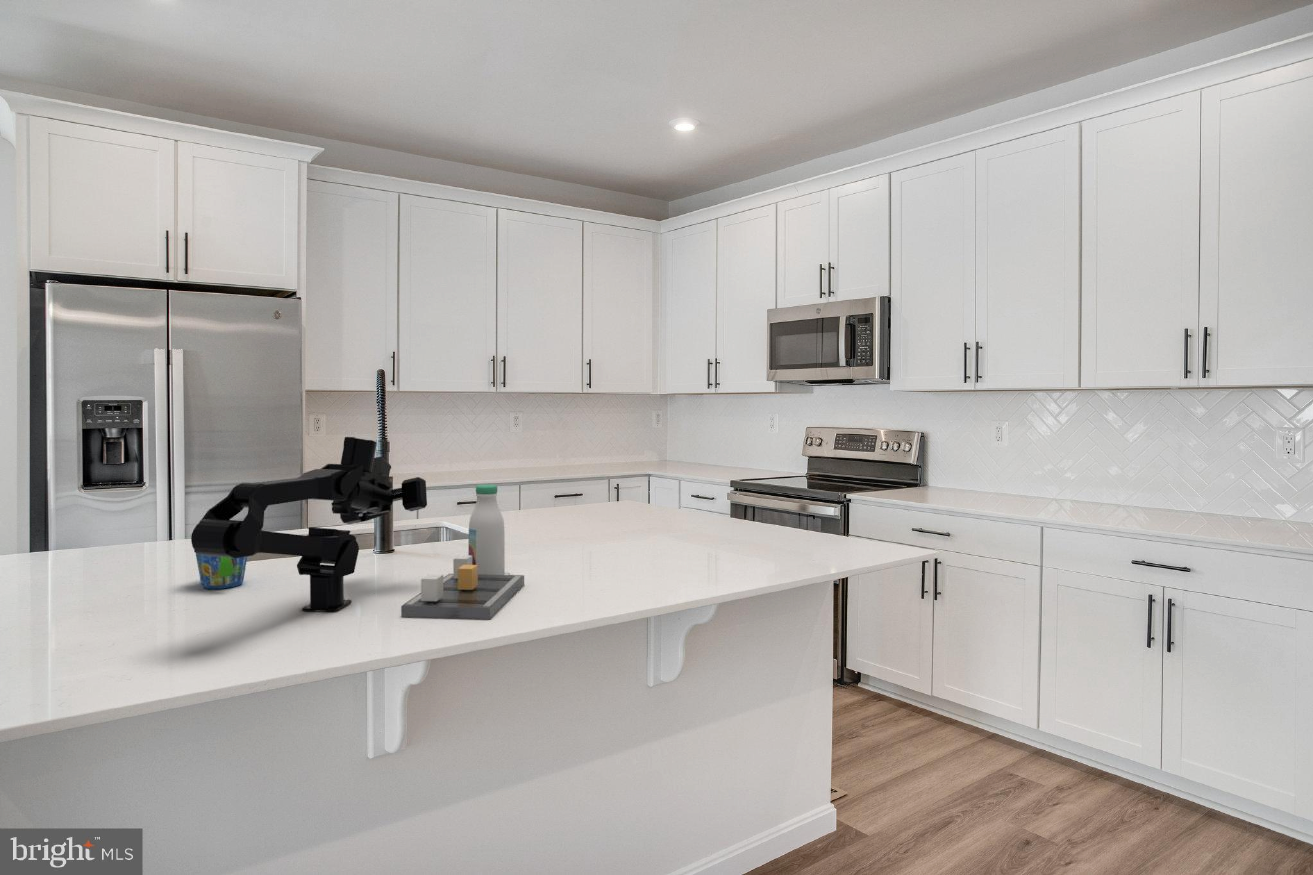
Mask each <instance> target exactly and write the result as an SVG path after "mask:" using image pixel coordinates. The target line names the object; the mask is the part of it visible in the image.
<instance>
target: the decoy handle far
mask: <svg viewBox="0 0 1313 875" xmlns="http://www.w3.org/2000/svg"><path fill="white" fill-rule="evenodd" d="M452 559H453V565H452V566H453V570H452V571H453V573H452V574H453V578H458V568H459V567H461V566H462V565H472V556H471V555H466V554H464V555H460V554H459V555H457V556H456V557H454V558H452Z"/></svg>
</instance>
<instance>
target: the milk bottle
mask: <svg viewBox="0 0 1313 875" xmlns="http://www.w3.org/2000/svg"><path fill="white" fill-rule="evenodd" d="M475 496H476V502H475V505H474V508H473V510H472V513H471V515H470V517H469V522H468V552H467V554H468V555H471V556H472V565H478V574H487V575H505V558H506V557H505V555H506V554H505V553H506V552H505V550H506V548H505V546H506V544H505V540H506V539H505V521H504V517H503V514H502V512H501V510H500V507H499V504H498V501H497V496H498V486H497V485H496V484H479V485H476V486H475Z"/></svg>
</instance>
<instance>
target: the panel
mask: <svg viewBox="0 0 1313 875" xmlns="http://www.w3.org/2000/svg"><path fill="white" fill-rule="evenodd" d="M524 586H525V575H524V574H523V575H522V574H521V575H520V574H518V575H517V574H504V575H487V574H478V586H476V587H475V588H474V589H473V590H462V589H458V578H453V573H448V574H446V575H445V576H443V597H442V598H440V599H439V600H438V601H421V592H420V593H418V594H417V595H414V597H412V598H411V599H409V600H408V601H406V602H405V603H403V604H402V605H401V606H400V612H401V613H400V615H401V618H422V619H423V618H426V619H455V620H456V619H457V620H459V619H462V620H465V619H466V620H492V618H494V617H495V615H496V614H497V613H498V612H499V611H500V610H501V609H502V608H503V607H504V606H505V605H506V604H507V603H508V602H509V601H510V600H511V599H512V598H513V597H514V596H515V595H516V594H517V593H518V592H519V591H520V590H521V589H522V588H523V587H524Z"/></svg>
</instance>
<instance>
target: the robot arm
mask: <svg viewBox="0 0 1313 875" xmlns="http://www.w3.org/2000/svg"><path fill="white" fill-rule="evenodd" d="M343 439H344V440H343V447H342V454H341V459H340V463H327V464H325V465H324V466H322V467H321V468H314V469H312V470H309V471H305V472H304V473H302V474H301V476H298V477H294V478H287V479H286V478H285V479H284V478H283V479H277V480H270V481H269V480H267V481H259V482H242V483H239V484H236V485H235V486H233V487H232V489H231V490H230V492H229V493H228V495H227V496H226V497H225V498H222V499H221V500H220V501H219V502H218V503H216V504H215V505H214V506H212V507H211V508H209V509H208V510H207V511H206V513H205V514H204V515H203V516H202V518H201V519H200V520H199V522H198V523H197V524H196V525H195V527H194V528H193V529H192V530H193V531H192V533H191V535H190V539H191V540H190V541H191V547H192V548H193V551H194V553H195V555H196V554H199V555H203V556H215V557H228V558H241V557H247V558H248V557H252V556H255V555H256V554H271V555H273V554H274V555H283V556H284V555H285V556H286V555H289V556H299V557H300V558H299V561H298V562H297V564H296V568H297V572H298V574H299V575H300V576H303V575H304V576H309V595H310V596H309V597H310V598H309V601H310V602H309V604H307V605H304V606H303V607H302V608H301V611H306V612H307V611H308V612H309V611H310V612H311V611H312V612H338V611H339V610H342V609H343V608H345V607H347V606H349V605H350V604H351V603H352V600H351V599H344V598H345V597H344V596H345V595H344V593H345V592H344V588H345V587H344V581H345V580H344V577H346V576H348V575H351V574H354V573H355V570H356V565H357V561H358V555H359V551H360V546H359V543H358V542H357V537H356V536H355V535H353V534H351V530H347V529H346V530H345V529H336V528H329V527H327V528H325V527H310V526H309V527H308V534H307V535H304V534H293V533H286V532H278V531H275V532H274V531H267V530H262V529H263V528H264V521H265V511H266V509H267V508H268V507H269V506H275V505H281V504H286V503H287V504H289V503H293V502H299V501H306V500H312V501H313V500H314V501H315V500H317V501H332V502H331V504H330V505H331V512H332V514H333V515H334V514H335V515H337V514H338V515H339V518H340V520H341V523H343V524H346V525H352V524H359V523H364V522H367V521H371V520H374V519H376V518H380V517H383V516H386V515H388V514H389V512H391V511H392V504H393V503H395V502H398V501H402V506H403V509H404V510H406V511H407V512H408V511H409V512H415V511H418V510H422V509H425V508H427V506H428V497H427V482H426V479H424V478H422V477H419V476H417V477H412V478H407V479H404V480H403V481H402V482H401V487H399V488H395V489H392V488H393V485H392V484H393V483H392V481H389V477H390V472H391V469H392V465H391V464H390V463H389V462H388V461H387V460H386V459H385V458H384V457H383V456H377V457H376V456H375V455H376V450H377V449H376V448H377V443H378V442H377V441H375V440H372V439H363V438H358V437H355V436H345V437H344V438H343ZM244 508H247V514H246V516H245V517H244V518H243V520H238V519H237V520H235V519H234V520H233V518H234V517H235V516H237V515H238V514H239V513H241V512H242V511H243V509H244Z"/></svg>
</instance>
